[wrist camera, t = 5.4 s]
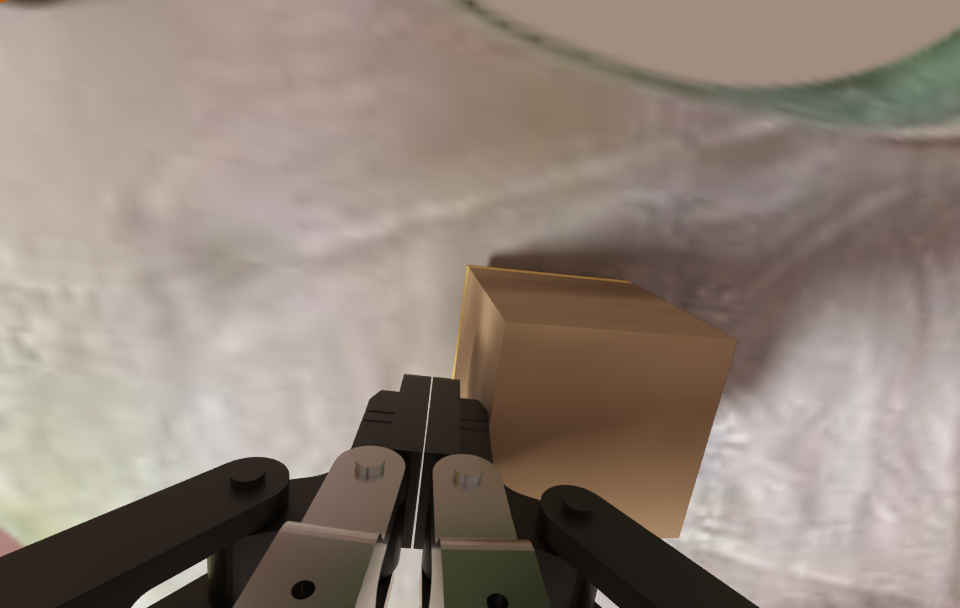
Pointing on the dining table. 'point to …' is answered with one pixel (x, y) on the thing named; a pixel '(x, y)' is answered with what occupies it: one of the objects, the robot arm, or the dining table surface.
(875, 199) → the dining table surface
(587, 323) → the cube
